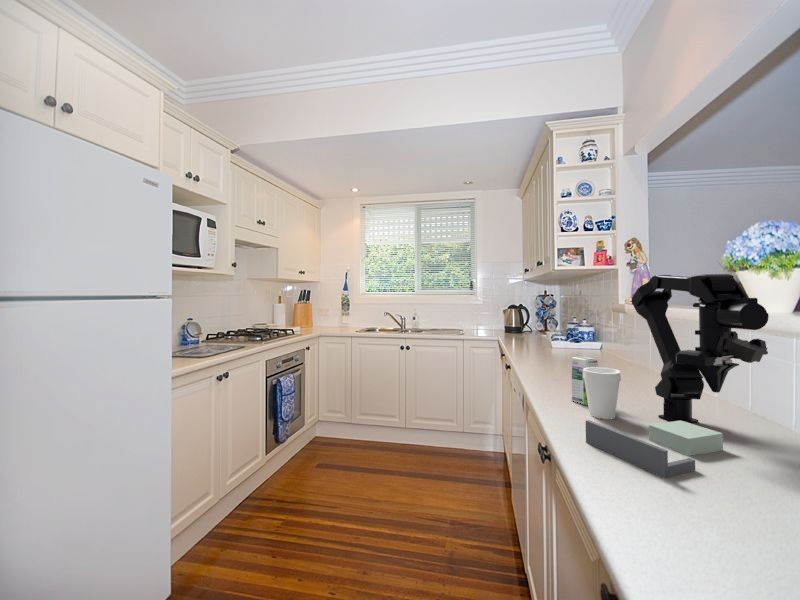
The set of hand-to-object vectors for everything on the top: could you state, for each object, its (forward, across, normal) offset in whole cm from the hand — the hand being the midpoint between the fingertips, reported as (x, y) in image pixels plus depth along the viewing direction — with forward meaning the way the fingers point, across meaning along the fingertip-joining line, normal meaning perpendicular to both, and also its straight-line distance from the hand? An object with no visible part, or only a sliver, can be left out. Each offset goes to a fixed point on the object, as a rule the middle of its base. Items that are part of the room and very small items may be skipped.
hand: (716, 392), depth 84 cm
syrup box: (+11, -5, +34) cm, 36 cm away
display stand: (+11, -26, 0) cm, 28 cm away
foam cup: (+11, -11, +22) cm, 27 cm away
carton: (+11, -11, 0) cm, 16 cm away
